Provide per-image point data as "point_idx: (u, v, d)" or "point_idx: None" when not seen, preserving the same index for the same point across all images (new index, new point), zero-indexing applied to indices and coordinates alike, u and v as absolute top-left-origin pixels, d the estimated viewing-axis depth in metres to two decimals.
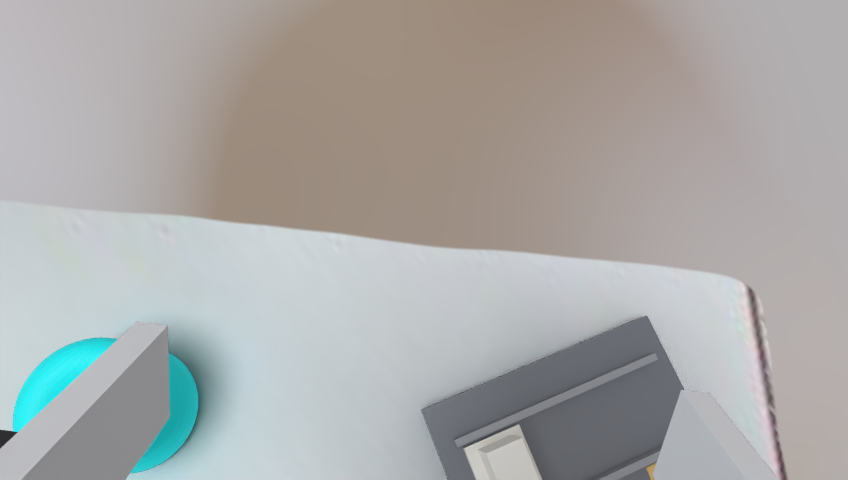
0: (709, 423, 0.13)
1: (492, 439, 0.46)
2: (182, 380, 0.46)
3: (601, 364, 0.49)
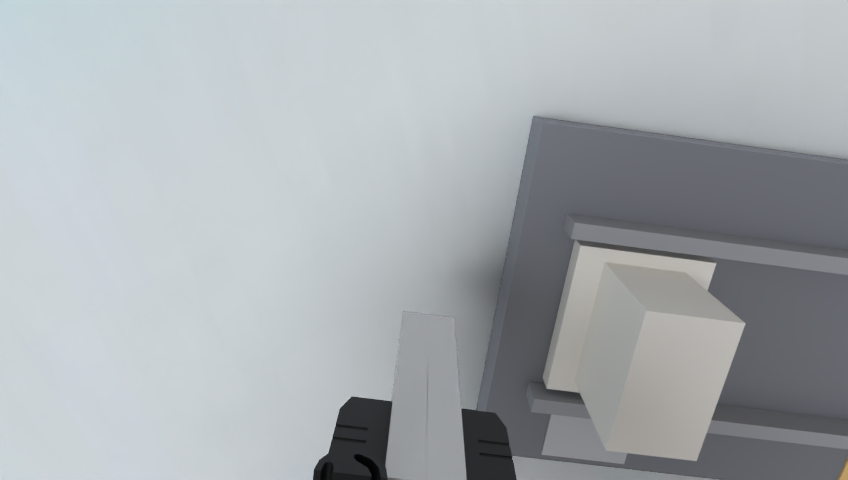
0: (431, 337, 0.15)
1: (645, 261, 0.20)
2: None
3: None
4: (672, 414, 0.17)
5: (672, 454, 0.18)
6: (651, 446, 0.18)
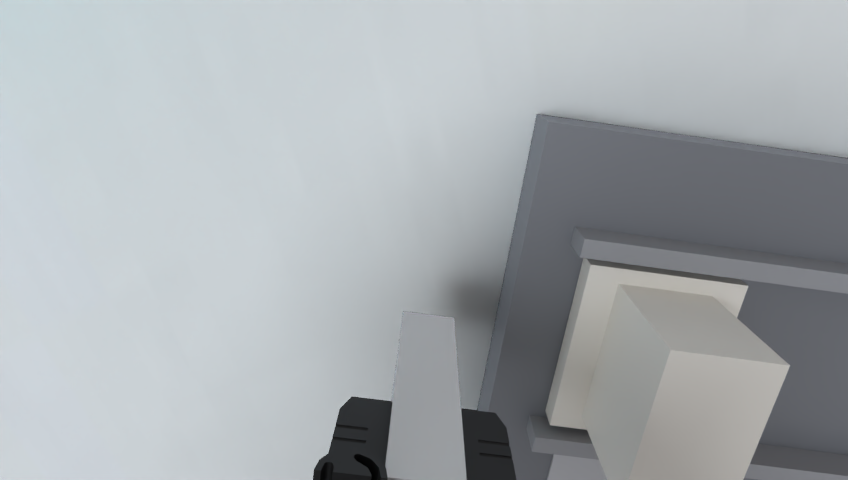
0: (431, 337, 0.15)
1: (665, 282, 0.17)
2: None
3: None
4: (699, 469, 0.15)
5: None
6: None
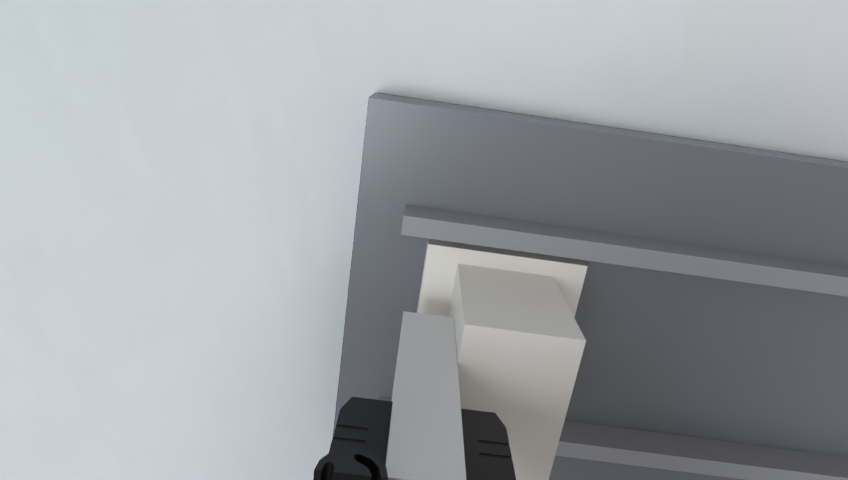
0: (431, 337, 0.15)
1: (505, 262, 0.17)
2: None
3: None
4: (509, 446, 0.15)
5: None
6: None
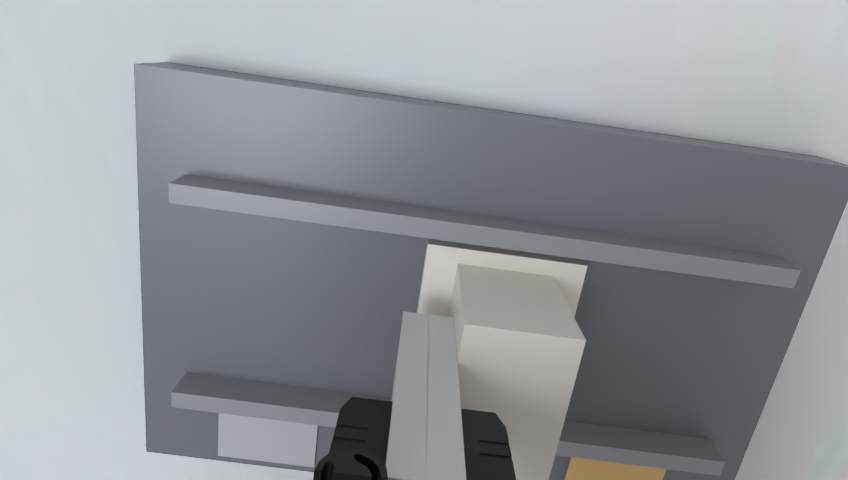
0: (431, 337, 0.15)
1: (504, 262, 0.17)
2: None
3: (650, 214, 0.17)
4: (509, 446, 0.15)
5: None
6: None
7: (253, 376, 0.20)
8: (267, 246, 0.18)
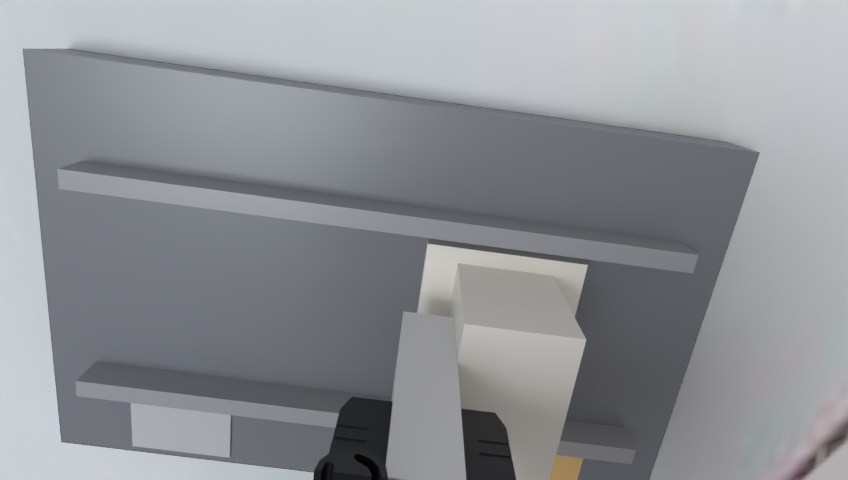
0: (431, 337, 0.15)
1: (504, 262, 0.17)
2: None
3: (550, 200, 0.17)
4: (510, 446, 0.15)
5: None
6: None
7: (163, 365, 0.19)
8: (168, 234, 0.18)
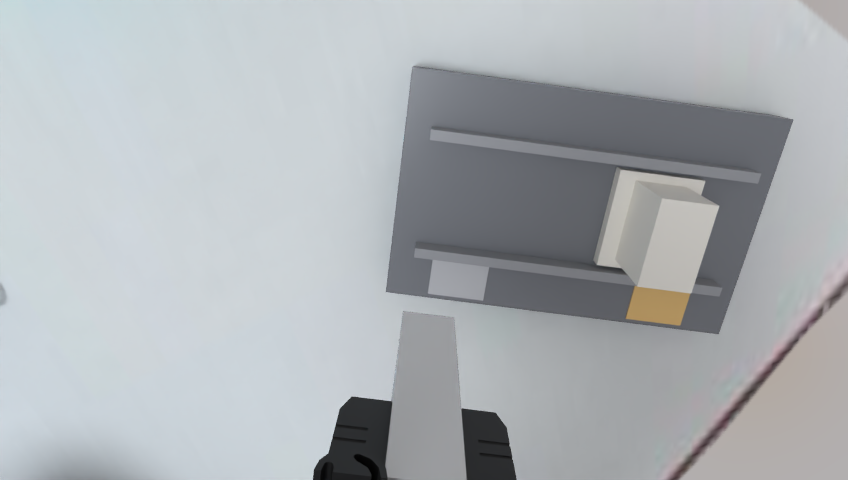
0: (431, 337, 0.15)
1: (661, 179, 0.32)
2: None
3: (680, 146, 0.32)
4: (677, 263, 0.30)
5: (676, 289, 0.30)
6: (664, 283, 0.30)
7: (453, 243, 0.35)
8: (470, 166, 0.33)
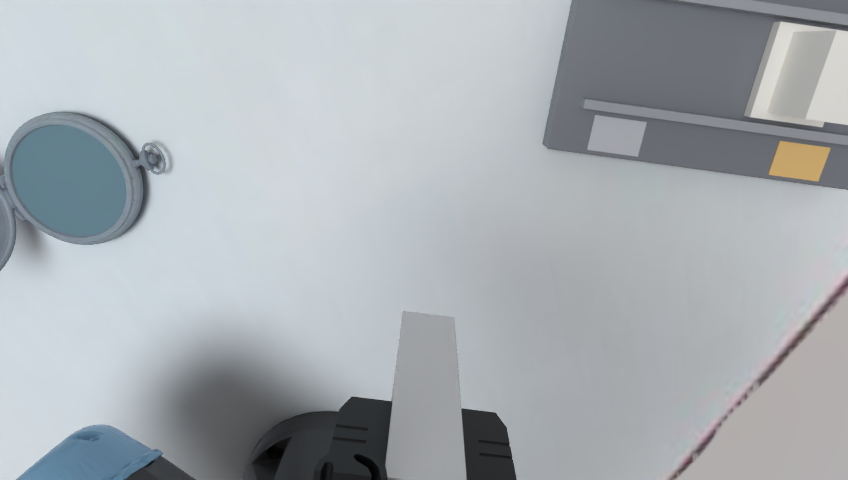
0: (431, 337, 0.15)
1: (816, 31, 0.35)
2: None
3: (833, 1, 0.35)
4: (844, 95, 0.33)
5: (841, 121, 0.33)
6: (830, 116, 0.33)
7: (615, 99, 0.38)
8: (638, 22, 0.36)
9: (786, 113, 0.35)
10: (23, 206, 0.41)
